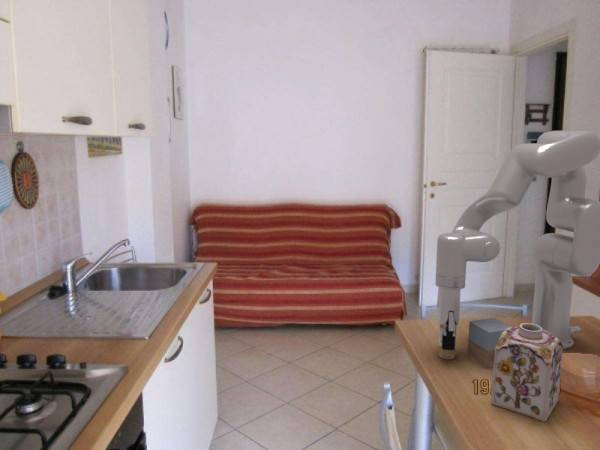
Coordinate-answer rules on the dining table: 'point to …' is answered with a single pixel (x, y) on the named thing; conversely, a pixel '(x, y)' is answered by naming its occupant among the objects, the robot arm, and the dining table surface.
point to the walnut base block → (481, 354)
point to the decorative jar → (527, 371)
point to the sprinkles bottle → (442, 353)
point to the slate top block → (486, 332)
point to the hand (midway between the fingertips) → (447, 344)
